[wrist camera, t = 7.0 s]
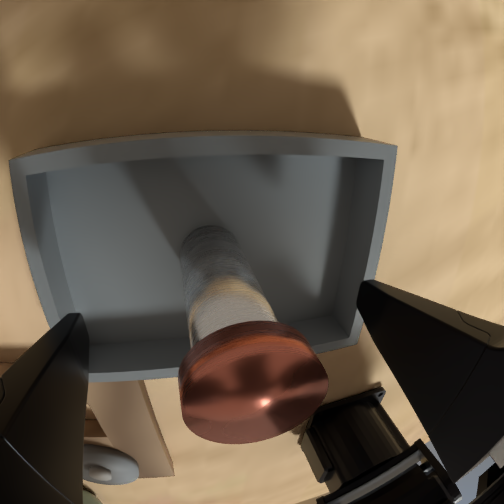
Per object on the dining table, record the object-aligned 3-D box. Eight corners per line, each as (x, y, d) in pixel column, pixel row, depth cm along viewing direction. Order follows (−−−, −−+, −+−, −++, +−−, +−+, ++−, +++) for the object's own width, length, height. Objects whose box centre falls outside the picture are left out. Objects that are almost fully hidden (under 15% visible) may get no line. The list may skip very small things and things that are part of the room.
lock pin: (249, 213, 12) (341, 339, 6) (248, 283, 14) (315, 428, 7) (166, 218, 12) (170, 365, 5) (173, 290, 13) (191, 451, 6)
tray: (362, 137, 13) (397, 145, 11) (334, 316, 17) (356, 344, 15) (36, 149, 9) (8, 160, 7) (81, 346, 14) (74, 382, 11)
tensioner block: (137, 360, 15) (137, 398, 13) (172, 461, 20) (176, 488, 18) (-14, 361, 12) (-27, 393, 10) (58, 461, 18) (57, 487, 15)
